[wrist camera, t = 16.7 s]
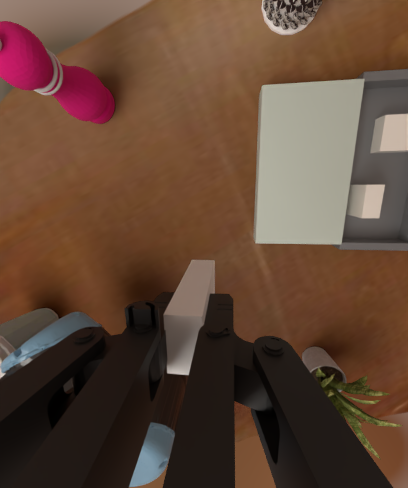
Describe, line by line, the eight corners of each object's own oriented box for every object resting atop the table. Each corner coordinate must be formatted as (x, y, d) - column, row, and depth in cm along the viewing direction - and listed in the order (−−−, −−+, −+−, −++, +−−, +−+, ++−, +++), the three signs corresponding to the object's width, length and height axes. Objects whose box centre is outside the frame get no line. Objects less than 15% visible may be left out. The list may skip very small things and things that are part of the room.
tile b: (379, 151, 35) (370, 153, 37) (415, 150, 35) (403, 152, 37) (385, 114, 34) (375, 119, 36) (423, 113, 33) (410, 117, 36)
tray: (402, 245, 41) (417, 250, 38) (330, 244, 42) (339, 249, 39) (437, 77, 34) (459, 65, 31) (351, 82, 36) (363, 71, 32)
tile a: (346, 214, 40) (361, 214, 40) (361, 218, 35) (379, 218, 35) (350, 184, 39) (366, 184, 39) (366, 184, 34) (385, 184, 34)
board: (331, 238, 42) (341, 244, 38) (253, 238, 44) (255, 243, 40) (350, 89, 36) (364, 78, 32) (259, 95, 38) (262, 85, 34)
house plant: (337, 395, 50) (385, 491, 35) (274, 381, 51) (293, 468, 36) (360, 341, 47) (426, 421, 31) (291, 326, 48) (321, 397, 32)
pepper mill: (106, 73, 40) (-13, -31, 20) (124, 116, 41) (30, 57, 22) (72, 92, 41) (-69, 13, 22) (91, 133, 42) (-26, 92, 23)
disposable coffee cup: (43, 343, 56) (-21, 398, 42) (17, 307, 55) (-60, 352, 40) (77, 329, 54) (20, 381, 40) (50, 290, 52) (-19, 331, 38)
